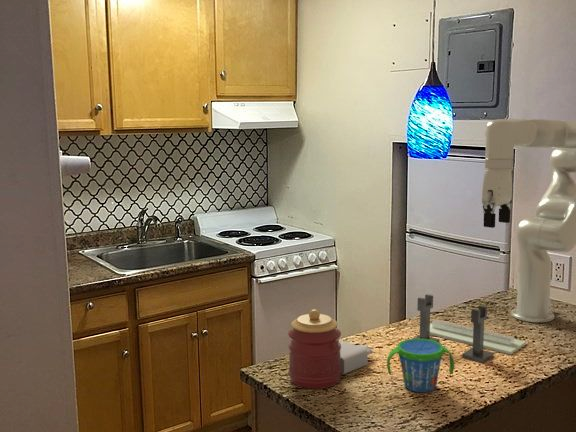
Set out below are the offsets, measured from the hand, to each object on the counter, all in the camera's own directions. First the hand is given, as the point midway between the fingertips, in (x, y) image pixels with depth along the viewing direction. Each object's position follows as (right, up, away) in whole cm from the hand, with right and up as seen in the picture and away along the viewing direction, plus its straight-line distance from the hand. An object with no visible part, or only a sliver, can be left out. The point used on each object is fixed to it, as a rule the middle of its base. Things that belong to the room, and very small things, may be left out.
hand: (496, 224), depth 180 cm
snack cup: (-28, -38, -30) cm, 56 cm away
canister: (-53, -38, -25) cm, 70 cm away
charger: (-43, -36, -15) cm, 58 cm away
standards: (-15, -34, -7) cm, 38 cm away
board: (-7, -33, +1) cm, 33 cm away
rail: (-7, -32, +1) cm, 33 cm away
